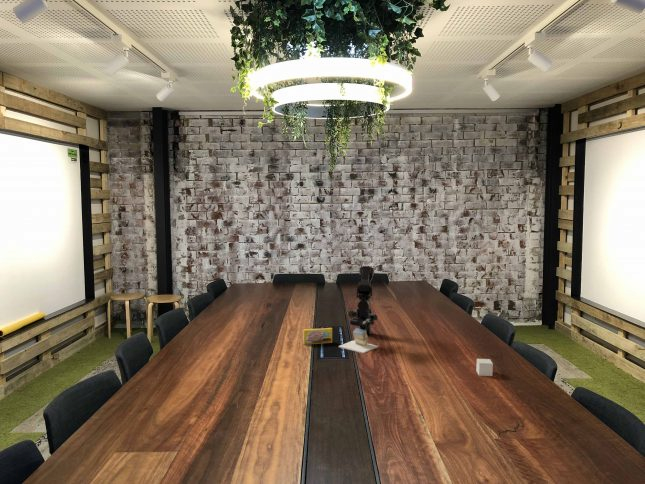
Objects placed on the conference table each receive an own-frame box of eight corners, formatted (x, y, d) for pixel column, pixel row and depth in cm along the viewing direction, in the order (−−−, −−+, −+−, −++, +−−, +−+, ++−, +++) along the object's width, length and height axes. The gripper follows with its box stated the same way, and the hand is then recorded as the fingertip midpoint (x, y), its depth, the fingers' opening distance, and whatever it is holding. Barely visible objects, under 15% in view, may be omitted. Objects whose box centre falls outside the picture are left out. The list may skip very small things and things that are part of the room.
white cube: (476, 371, 234) (476, 358, 234) (489, 371, 234) (489, 359, 233) (478, 375, 228) (479, 363, 228) (492, 376, 228) (492, 363, 227)
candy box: (303, 345, 272) (303, 330, 271) (303, 344, 274) (303, 329, 273) (332, 343, 276) (332, 328, 275) (331, 341, 278) (331, 327, 277)
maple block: (359, 339, 275) (356, 327, 271) (368, 341, 271) (365, 329, 268) (355, 343, 272) (352, 332, 269) (365, 346, 268) (361, 334, 265)
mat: (353, 341, 279) (353, 340, 279) (377, 347, 269) (377, 345, 269) (338, 347, 268) (338, 346, 268) (363, 353, 258) (363, 352, 258)
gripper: (361, 301, 282) (361, 328, 284) (341, 307, 268) (341, 335, 269) (378, 304, 275) (377, 332, 277) (358, 310, 261) (358, 339, 262)
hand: (363, 334), depth 271 cm, fingers closed
